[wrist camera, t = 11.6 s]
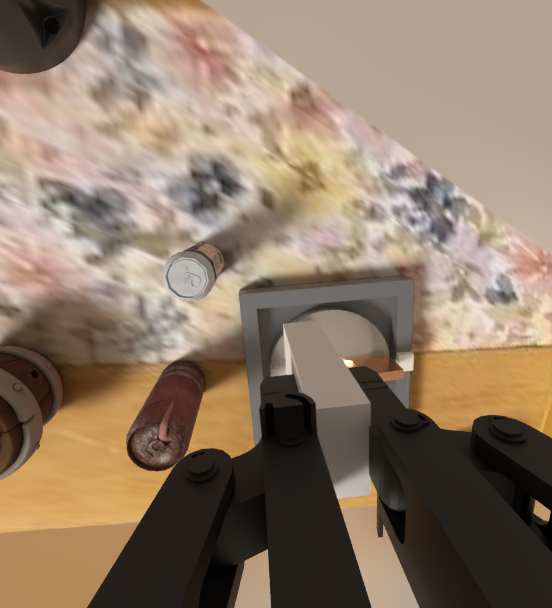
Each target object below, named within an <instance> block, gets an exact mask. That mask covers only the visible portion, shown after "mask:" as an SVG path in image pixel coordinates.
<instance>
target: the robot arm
mask: <svg viewBox="0 0 552 608" xmlns="http://www.w3.org/2000/svg"><path fill="white" fill-rule="evenodd" d="M85 14H86V0H0V70H3V71H6V72H11V73H18V74H31V73H37V72H41V71H45V70H47V69H50V68H52V67H54V66H55V65H57V64H58V63H60V62H61V61H62V60H64V59H65V58H66V57H67V56H68V55H69V54H70V52H71V51H72V50H73V48H74V47H75V45H76V43H77V42H78V40H79V37H80V35H81V32H82V29H83V25H84V21H85ZM283 331H284V345H285V359H286V374H287V375H281V376H271V377H265V379H264V380H263V381H262V383H261V384H260V395H261V404H260V408H259V414H260V424H261V434H262V437H261V439H260V441H259V443H258V444H257V445H256V446H255V447H254V448H253V449H251V450H250V451H248V452H247V453H244V454H242V455H240V456H237V457H235V458H232V459H231V457H230V455H228V454H227V453H225V452H224V451H223V450H218V449H214V448H211V449H201V450H198V451H195V452H192V453H190V454H188V455H187V456H185V457H184V458H182V459H181V460H180V461H179V462H178V463H177V464H176V465H175V467H174V468H173V469H172V471H171V472H170V474H169V476H168V477H167V479H166V481H165V482H164V484H163V485H162V487H161V489H160V490H159V492H158V494H157V495H156V497H155V498H154V500H153V502H152V503H151V505H150V507H149V508H148V510H147V511H146V513H145V515H144V516H143V518H142V519H141V521H140V523H139V525H138V526H137V528H136V529H135V531H134V532H133V534H132V536H131V537H130V539H129V541H128V543H127V544H126V545H125V547H124V549H123V550H122V552H121V554H120V555H119V557H118V559H117V560H116V562H115V563H114V565H113V567H112V568H111V570H110V571H109V573H108V575H107V577H106V578H105V580H104V581H103V583H102V584H101V586H100V588H99V589H98V591H97V592H96V594H95V596H94V597H93V599H92V601H91V602H90V604H89V605H88V607H87V608H234V606H235V602H236V597H237V594H238V590H239V585H240V581H241V577H242V573H243V569H244V561H245V560H247V559H249V558H251V557H253V556H255V555H257V554H259V553H261V552H263V551H265V550H267V549H268V557H269V576H270V594H271V608H371V604H370V601H369V598H368V595H367V592H366V588H365V585H364V582H363V579H362V576H361V573H360V570H359V566H358V563H357V560H356V556H355V553H354V550H353V547H352V544H351V540H350V538H349V534H348V531H347V528H346V525H345V522H344V518H343V515H342V512H341V509H340V505H339V502H338V499H341V498H349V497H357V496H365V495H370V481H371V479H372V482H373V484H374V486H375V488H376V490H377V532H378V537H383V524H384V526H385V529H386V531H387V533H388V536H389V538H390V540H391V542H392V545H393V547H394V549H395V552H396V554H397V556H398V559H399V561H400V563H401V565H402V568H403V570H404V573H405V575H406V577H407V580H408V582H409V584H410V586H411V589H412V591H413V594H414V596H415V598H416V600H417V603H418V605H419V607H420V608H552V438H550V437H549V436H547V435H545V434H543V433H541V432H540V431H538V430H536V429H534V428H532V427H531V426H529V425H527V424H525V423H522V422H520V421H518V420H515V419H512V418H508V417H505V416H499V415H498V416H497V415H487V416H480V417H479V418H477V419H475V420H474V423H473V426H472V432H463V431H453V430H445V429H440V428H439V427H438V426H437V424H436V423H435V422H434V421H433V420H432V419H431V418H429V417H428V416H427V415H425V414H423V413H421V412H419V411H416V410H412V409H408V408H406V407H405V406H404V405H403V404H402V402H401V401H400V400H399V399H398V397H397V396H396V395H395V394H394V393H393V391H392V390H391V389H390V388H389V386H388V385H387V384H386V383H385V382H383V379H382V378H381V377H380V376H379V374H378V373H377V372H376V371H374V370H372V369H370V368H368V367H367V366H358V367H349V368H348V367H347V366H346V364H345V363H344V361H343V360H342V358H341V357H340V355H339V354H338V352H337V351H336V349H335V347H334V346H333V344H332V343H331V341H330V340H329V338H328V337H327V335H326V334H325V332H324V331H323V329H322V328H321V326H320V324H319V323H318V321H306V322H296V323H285V324H283ZM535 500H537V501H538V502H540V503H541V504H543V505H544V506H545V507H546V508H548V509H549V510H550V511H551V514H550V519H549V521H544V520H542V519H541V518H539V517H538V516H536V515H535V514H534V513H533V512H534V506H535Z"/></svg>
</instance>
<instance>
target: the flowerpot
mask: <svg viewBox="0 0 552 608" xmlns="http://www.w3.org/2000/svg"><path fill="white" fill-rule="evenodd" d="M62 396H63V388H62V382H61V379H60V377H59V372H58V370H57V369H56V367H55V366H54V365H53V364H52V362H50V361H49V360H48V359H47V358H46V357H45V356H43V355H41V354H39V353H36V352H33V351H31V350H28V349H25V348H22V347H17V346H3V345H0V480H2V479H4V478H5V477H7V476H9V475H10V474H12V473H13V472H15V471H16V470H17V469H19V468H20V467H21V466H22V465H23V464H24V463H25V462H26V461H27V460H28V459H29V458H30V457H31V456H32V455H33V453H34V452H35V450H37V449H38V448H39V447H40V445H39V442H40V439H41V437H42V432H43V426H44V425H45V424H47V423H48V422H49V421H50V420H51V419H52V418H53V417H54V415H55V414H56V412H57V410H58V409H60V408H61V406H62V405H61V401H62Z"/></svg>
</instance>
